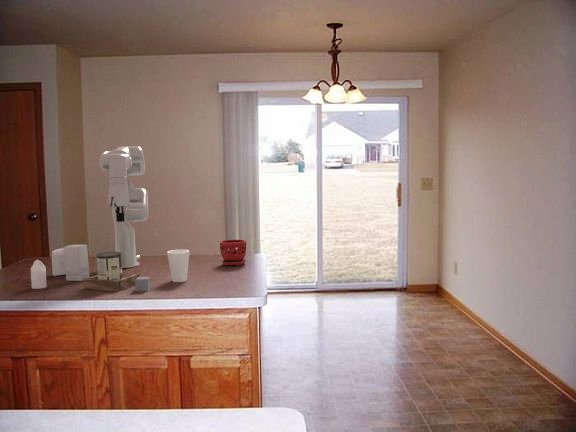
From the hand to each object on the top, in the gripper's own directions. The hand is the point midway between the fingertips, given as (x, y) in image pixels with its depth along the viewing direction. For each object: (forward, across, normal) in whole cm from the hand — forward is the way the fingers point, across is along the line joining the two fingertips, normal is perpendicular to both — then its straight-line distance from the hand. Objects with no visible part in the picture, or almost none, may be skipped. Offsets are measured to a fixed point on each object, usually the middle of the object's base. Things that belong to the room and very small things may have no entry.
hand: (120, 221), depth 265 cm
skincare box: (+25, +13, -15) cm, 32 cm away
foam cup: (+25, +3, +31) cm, 40 cm away
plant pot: (+25, -37, +39) cm, 59 cm away
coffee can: (+25, +21, +8) cm, 34 cm away
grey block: (+25, +22, +25) cm, 42 cm away
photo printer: (+25, +5, -29) cm, 39 cm away
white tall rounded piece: (+25, +30, -21) cm, 45 cm away
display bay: (+25, +19, +8) cm, 32 cm away
